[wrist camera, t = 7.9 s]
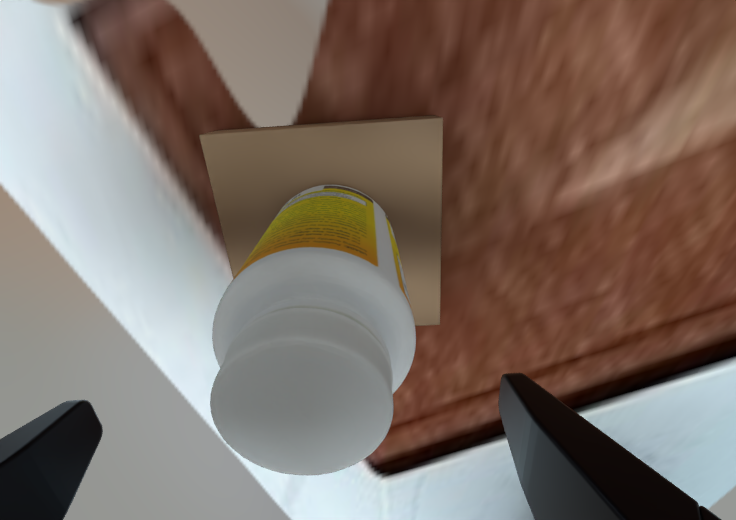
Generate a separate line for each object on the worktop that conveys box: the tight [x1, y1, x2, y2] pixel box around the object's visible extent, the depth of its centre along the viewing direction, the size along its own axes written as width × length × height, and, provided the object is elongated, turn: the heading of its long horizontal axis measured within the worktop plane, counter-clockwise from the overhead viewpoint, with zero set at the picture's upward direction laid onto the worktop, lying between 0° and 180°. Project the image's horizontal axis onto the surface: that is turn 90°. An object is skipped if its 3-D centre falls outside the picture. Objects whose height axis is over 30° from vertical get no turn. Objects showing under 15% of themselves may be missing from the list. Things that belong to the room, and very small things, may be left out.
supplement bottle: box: [210, 185, 416, 475], centre depth 13 cm, size 6×6×10 cm
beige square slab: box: [199, 115, 443, 326], centre depth 18 cm, size 10×10×2 cm
